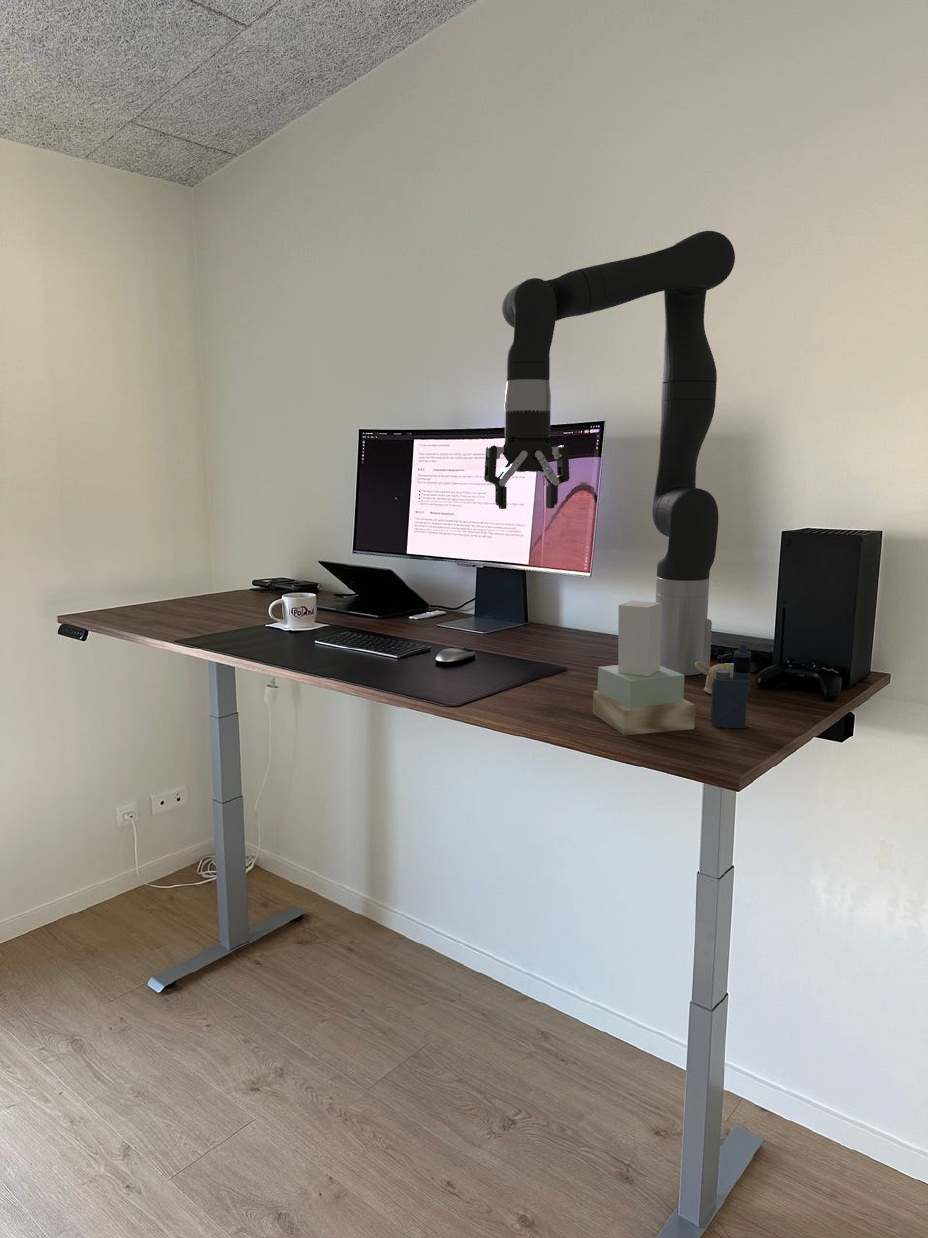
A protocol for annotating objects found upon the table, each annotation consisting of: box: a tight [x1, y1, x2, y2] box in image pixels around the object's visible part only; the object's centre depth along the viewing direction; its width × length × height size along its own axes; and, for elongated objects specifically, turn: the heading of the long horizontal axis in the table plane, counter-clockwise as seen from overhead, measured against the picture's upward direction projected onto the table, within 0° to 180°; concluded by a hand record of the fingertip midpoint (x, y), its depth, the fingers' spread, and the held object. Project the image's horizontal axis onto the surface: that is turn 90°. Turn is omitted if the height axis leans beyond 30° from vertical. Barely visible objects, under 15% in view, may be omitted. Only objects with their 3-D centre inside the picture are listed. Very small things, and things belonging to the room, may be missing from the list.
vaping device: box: [709, 644, 752, 729], centre depth 122 cm, size 3×5×12 cm, turn 79°
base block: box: [592, 689, 696, 736], centre depth 126 cm, size 11×11×4 cm
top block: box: [597, 664, 686, 708], centre depth 125 cm, size 9×9×4 cm
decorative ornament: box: [695, 661, 734, 695], centre depth 140 cm, size 4×8×5 cm, turn 69°
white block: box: [617, 600, 661, 676], centre depth 124 cm, size 5×5×10 cm
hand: (526, 508), depth 143 cm, fingers open, 8 cm apart
